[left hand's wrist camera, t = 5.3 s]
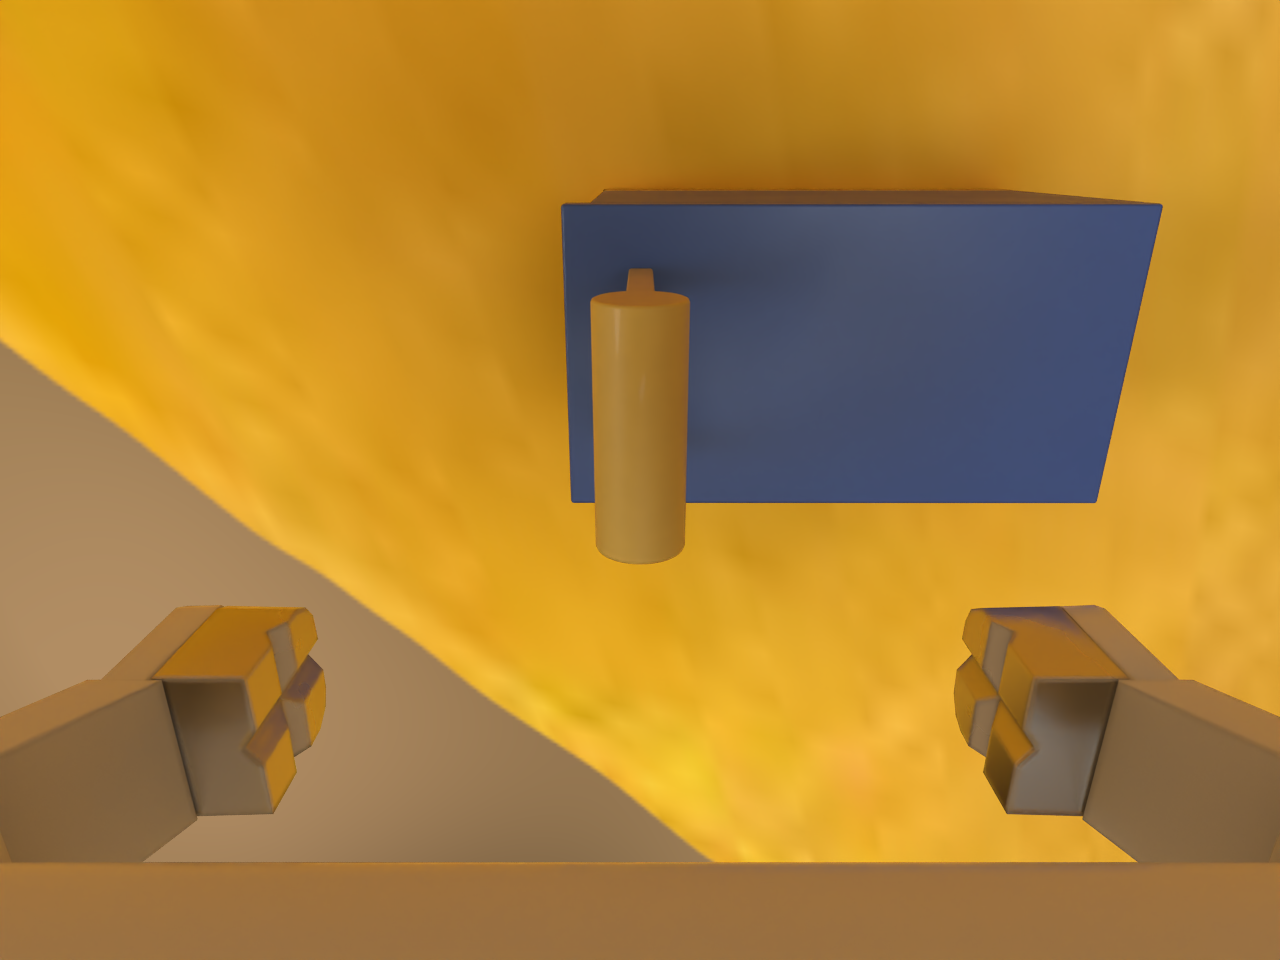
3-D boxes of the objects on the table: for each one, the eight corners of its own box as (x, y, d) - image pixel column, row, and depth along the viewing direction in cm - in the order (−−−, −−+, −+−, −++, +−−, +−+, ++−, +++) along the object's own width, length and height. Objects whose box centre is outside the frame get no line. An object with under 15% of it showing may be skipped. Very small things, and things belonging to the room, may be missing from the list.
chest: (607, 406, 37) (595, 494, 27) (604, 189, 33) (588, 202, 24) (968, 406, 37) (1084, 494, 27) (1002, 189, 33) (1147, 201, 24)
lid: (573, 494, 27) (545, 625, 20) (563, 202, 24) (525, 224, 16) (1084, 494, 27) (1258, 626, 20) (1148, 202, 24) (1388, 223, 16)
